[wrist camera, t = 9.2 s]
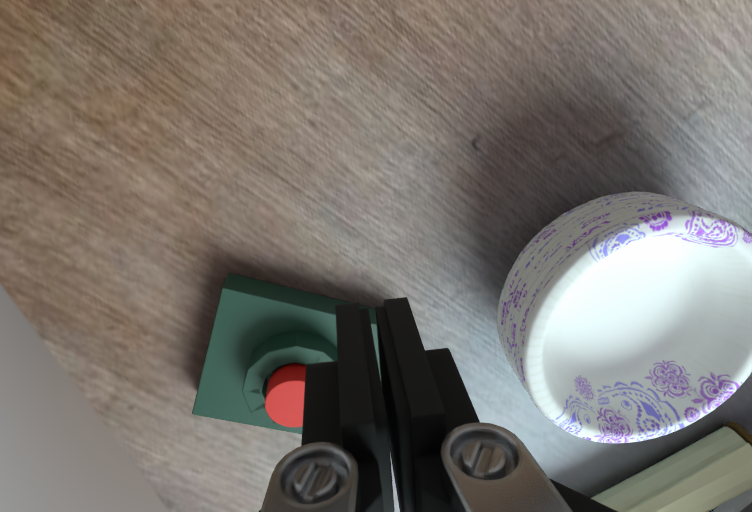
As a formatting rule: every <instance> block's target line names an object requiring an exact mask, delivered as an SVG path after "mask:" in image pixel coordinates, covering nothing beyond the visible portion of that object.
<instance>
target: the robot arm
mask: <svg viewBox="0 0 752 512" xmlns="http://www.w3.org/2000/svg"><path fill="white" fill-rule="evenodd" d="M383 304H384V306H378V307H375V312H376V325H377V338H378V351H379V363H380V374H379V368H378V362H377V356H376V350H375V345H374V339H373V333H372V327H371V321H370V316H369V310H368V308H360V309H359V304H358V303H349V304H340V305H335V309H336V332H337V354H338V361H330V362H321V363H313V364H307V365H306V374H305V392H304V409H303V427H302V445H301V447H298V448H296V449H294V450H293V451H291V452H290V453H288V454H287V455H285V456H284V457H283V458H282V460H281V461H280V462H279V463H278V464H277V465H276V467H275V469H274V471H273V473H272V476H271V479H270V482H269V486H268V489H267V492H266V495H265V499H264V502H263V505H262V509H261V510H260V511H259V512H394V500H393V486H392V473H391V460H390V453H391V459H392V465H393V471H394V477H395V483H396V489H397V495H398V501H399V508H400V512H618V511H616V510H614V509H612V508H609V507H607V506H605V505H603V504H601V503H599V502H597V501H595V500H593V499H591V498H589V497H587V496H585V495H583V494H581V493H578V492H576V491H574V490H572V489H570V488H568V487H566V486H564V485H562V484H560V483H558V482H556V481H554V480H552V479H550V478H548V477H547V475H546V474H545V473H544V471H543V470H542V469H541V467H540V466H539V464H538V463H537V462H536V460H535V459H534V457H533V456H532V455H531V453H530V452H529V451H528V449H527V448H526V446H525V445H524V444H523V442H522V441H521V440H520V439H519V438H518V437H517V436H516V435H515V434H513V433H512V432H510V431H508V430H507V429H505V428H503V427H500V426H497V425H494V424H490V423H480V422H479V419H478V417H477V414H476V412H475V410H474V407H473V405H472V403H471V400H470V398H469V395H468V393H467V391H466V388H465V386H464V383H463V381H462V379H461V376H460V374H459V371H458V369H457V367H456V364H455V362H454V360H453V357H452V355H451V353H450V351H449V349H448V348H443V349H434V350H426V351H425V350H424V347H423V344H422V341H421V338H420V335H419V332H418V329H417V326H416V323H415V320H414V317H413V314H412V311H411V308H410V305H409V302H408V299H407V297H405V298H396V299H387V300H384V301H383ZM380 376H381V380H380Z"/></svg>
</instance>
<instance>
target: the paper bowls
mask: <svg viewBox="0 0 752 512" xmlns="http://www.w3.org/2000/svg"><path fill="white" fill-rule="evenodd" d="M497 328H498V333H499V338H500V342H501V345H502V348H503V351H504V353H505V355H506V357H507V359H508V361H509V363H510V365H511V367H512V369H513V371H514V372H515V373H516V375H517V377H518V379H519V380H520V382H521V383H522V385H523V386H524V388H525V389H526V390H527V392H528V394H529V395H530V397H531V399H532V401H533V402H534V404H535V405H536V407H537V408H538V409H539V410H540V411H541V412H542V414H544V415H545V416H546V417H547V418H548V419H549V420H550V421H551V422H553V423H554V424H556V425H557V426H558V427H560V428H561V429H563V430H565V431H567V432H568V433H570V434H573V435H575V436H577V437H580V438H583V439H587V440H591V441H595V442H602V443H631V442H638V441H645V440H649V439H653V438H657V437H660V436H663V435H667V434H669V433H672V432H675V431H677V430H679V429H682V428H684V427H686V426H688V425H690V424H692V423H694V422H695V421H697V420H699V419H700V418H702V417H704V416H705V415H707V414H708V413H710V412H711V411H713V410H714V409H716V408H717V407H718V406H720V405H721V404H722V403H723V402H725V401H726V400H727V399H728V398H729V397H730V396H731V395H732V394H733V393H734V392H736V390H737V389H738V388H739V387H740V386H741V385H742V384H743V383H744V381H745V380H746V379H747V378H748V377H749V375H750V374H751V372H752V234H750V233H749V232H748V231H747V230H745V229H744V228H743V227H741V226H740V225H738V224H736V223H735V222H733V221H731V220H729V219H727V218H724V217H722V216H720V215H717V214H715V213H712V212H710V211H706V210H704V209H702V208H699V207H697V206H693V205H691V204H688V203H686V202H683V201H681V200H678V199H675V198H671V197H668V196H665V195H661V194H655V193H651V192H626V193H617V194H611V195H608V196H604V197H599V198H597V199H595V200H590V201H588V202H587V203H586V204H582V205H580V206H578V207H576V208H574V209H571V210H570V211H568V212H566V213H564V214H562V215H561V216H559V217H558V218H557V219H555V220H554V221H552V222H551V223H550V224H549V225H547V226H545V227H544V228H543V229H542V230H541V231H540V232H539V233H538V234H536V235H535V236H534V238H533V239H532V240H531V241H530V242H529V243H528V244H527V245H526V247H525V248H524V249H523V251H522V252H521V253H520V254H519V256H518V258H517V260H516V261H515V263H514V265H513V267H512V269H511V270H510V272H509V274H508V276H507V279H506V281H505V284H504V287H503V289H502V293H501V296H500V300H499V305H498V313H497Z"/></svg>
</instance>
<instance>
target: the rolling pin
mask: <svg viewBox="0 0 752 512" xmlns="http://www.w3.org/2000/svg"><path fill="white" fill-rule="evenodd" d="M751 489H752V436H751V435H750V434H749V433H748V432H747V431H746V430H745V429H744V428H743V427H742V426H740V425H739V424H737V423H735V422H734V421H729V422H726V423H724V424H723V427H722V428H720V429H719V430H717V431H715V432H713V433H711V434H709V435H708V436H706V437H704V438H702V439H700V440H698V441H697V442H695V443H693V444H691V445H689V446H688V447H686V448H684V449H682V450H680V451H678V452H677V453H675V454H673V455H671V456H669V457H667V458H666V459H664V460H662V461H660V462H658V463H656V464H654V465H653V466H651V467H649V468H647V469H645V470H643V471H641V472H639V473H637V474H636V475H634V476H632V477H630V478H628V479H626V480H624V481H622V482H620V483H618V484H617V485H615V486H613V487H611V488H609V489H607V490H605V491H603V492H601V493H599V494H597V495H595V496H594V497H592V498H591V499H593V500H595V501H597V502H599V503H601V504H603V505H605V506H607V507H609V508H612V509H614V510H616V511H618V512H709V511H710V510H712V509H714V508H716V507H718V506H720V505H722V504H724V503H726V502H728V501H730V500H731V499H733V498H735V497H737V496H739V495H741V494H743V493H745V492H747V491H749V490H751Z"/></svg>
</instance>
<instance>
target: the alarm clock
mask: <svg viewBox="0 0 752 512" xmlns="http://www.w3.org/2000/svg"><path fill="white" fill-rule="evenodd" d="M713 512H752V489H751V490H749V491H747V492H745V493H743V494H741V495H739V496H737V497H735V498H733V499H731V500H730V501H728V502H726V503H724V504H722V505H720V506H719V507H718V508H716V509H715V510H714V511H713Z"/></svg>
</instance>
